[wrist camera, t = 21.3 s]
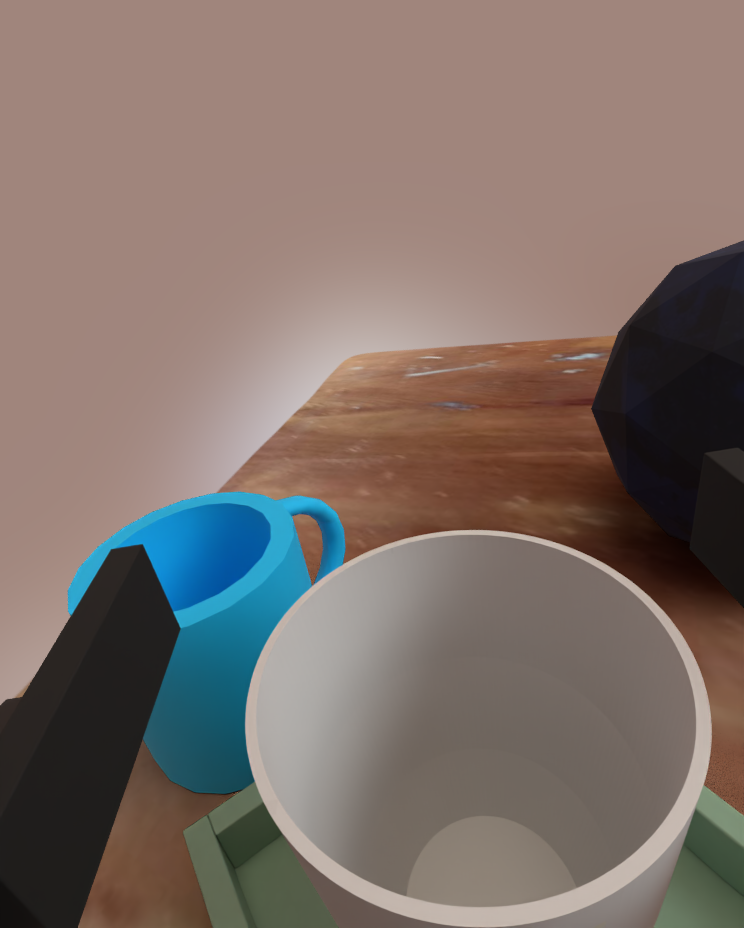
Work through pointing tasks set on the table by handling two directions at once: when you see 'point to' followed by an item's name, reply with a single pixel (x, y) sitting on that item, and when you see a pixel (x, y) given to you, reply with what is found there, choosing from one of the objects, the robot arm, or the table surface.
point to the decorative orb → (677, 386)
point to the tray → (310, 924)
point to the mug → (218, 618)
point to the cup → (480, 737)
